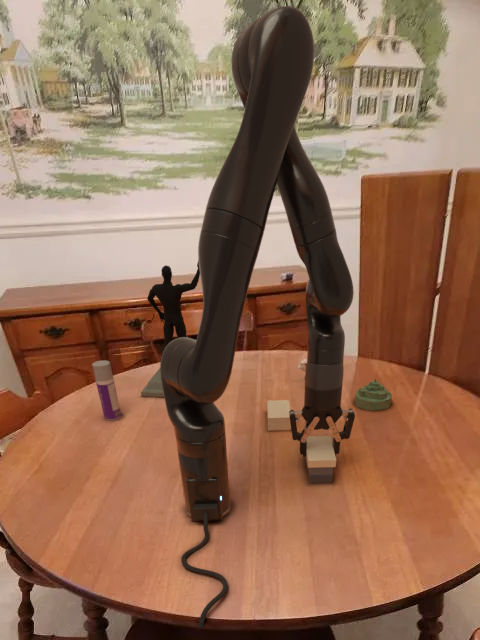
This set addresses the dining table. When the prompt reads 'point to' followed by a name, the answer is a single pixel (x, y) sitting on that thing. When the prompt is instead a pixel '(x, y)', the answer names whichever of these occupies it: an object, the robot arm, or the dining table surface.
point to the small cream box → (278, 415)
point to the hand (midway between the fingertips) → (319, 455)
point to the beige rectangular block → (320, 452)
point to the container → (107, 390)
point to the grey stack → (320, 474)
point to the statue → (168, 318)
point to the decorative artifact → (373, 397)
